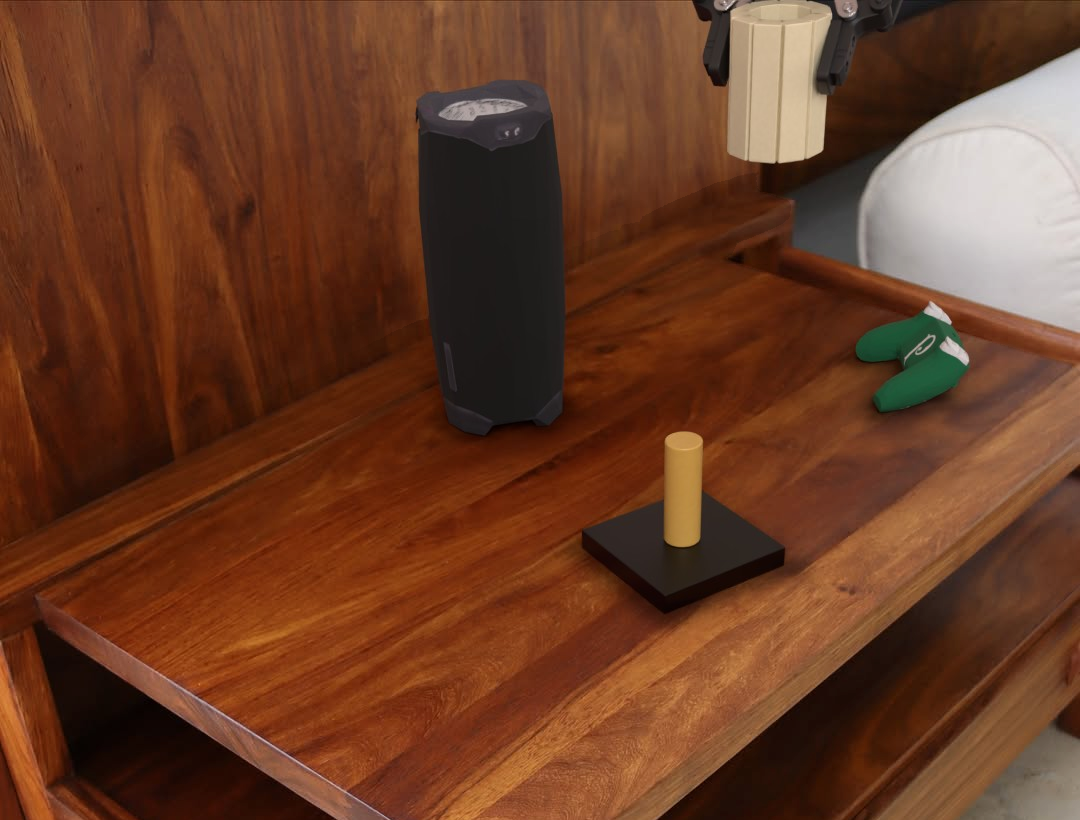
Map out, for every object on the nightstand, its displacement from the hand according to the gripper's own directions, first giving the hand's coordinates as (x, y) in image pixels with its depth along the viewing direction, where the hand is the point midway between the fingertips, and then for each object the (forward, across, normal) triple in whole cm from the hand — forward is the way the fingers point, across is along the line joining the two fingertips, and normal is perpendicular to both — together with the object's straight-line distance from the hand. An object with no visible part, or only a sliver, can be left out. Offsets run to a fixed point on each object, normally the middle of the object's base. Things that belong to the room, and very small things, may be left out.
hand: (770, 83), depth 89 cm
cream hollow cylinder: (+2, 0, +4) cm, 5 cm away
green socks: (+13, +11, +12) cm, 21 cm away
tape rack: (+31, +4, -6) cm, 32 cm away
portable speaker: (+22, -13, +3) cm, 26 cm away
